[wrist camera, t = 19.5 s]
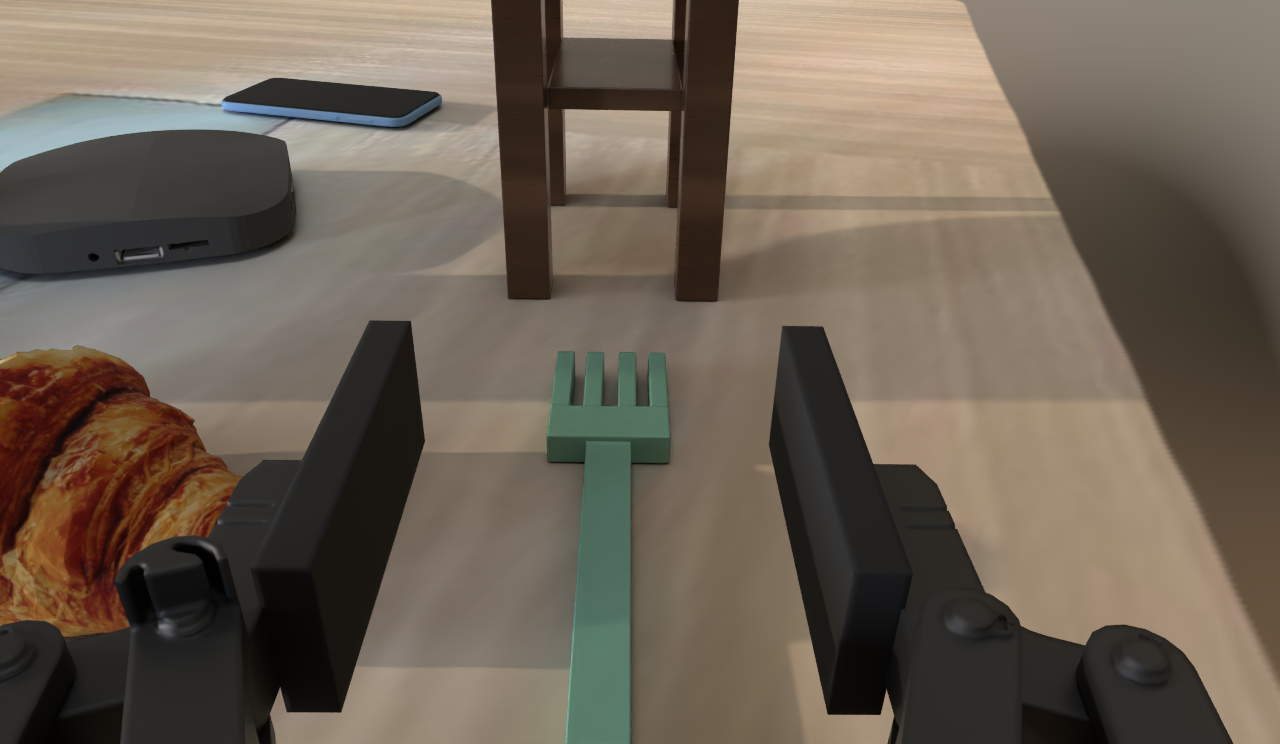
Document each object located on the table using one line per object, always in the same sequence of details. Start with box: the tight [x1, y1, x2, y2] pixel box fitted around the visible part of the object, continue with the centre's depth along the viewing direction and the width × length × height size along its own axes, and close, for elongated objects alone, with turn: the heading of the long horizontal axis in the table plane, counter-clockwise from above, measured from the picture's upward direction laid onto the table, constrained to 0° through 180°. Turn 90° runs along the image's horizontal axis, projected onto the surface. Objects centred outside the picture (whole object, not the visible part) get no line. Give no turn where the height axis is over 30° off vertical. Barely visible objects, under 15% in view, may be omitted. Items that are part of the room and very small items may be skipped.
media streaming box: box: [0, 130, 295, 274], centre depth 52 cm, size 15×15×3 cm
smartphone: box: [221, 78, 442, 127], centre depth 71 cm, size 7×1×15 cm
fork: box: [547, 351, 670, 744], centre depth 30 cm, size 22×4×1 cm, turn 0°
